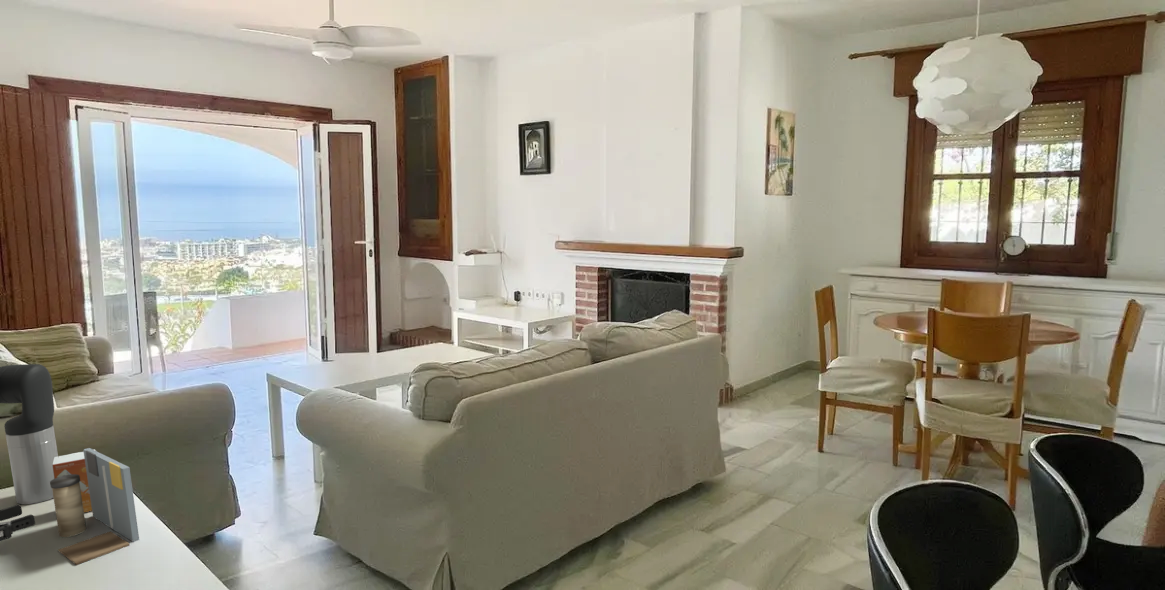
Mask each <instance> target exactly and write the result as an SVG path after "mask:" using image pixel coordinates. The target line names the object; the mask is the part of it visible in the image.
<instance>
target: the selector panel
mask: <svg viewBox="0 0 1165 590" xmlns="http://www.w3.org/2000/svg"><path fill="white" fill-rule="evenodd" d="M82 452H84V458H85V465H86V472H87V479H88V486H89V492H90V499H91V506H92V511H91V513H92V517H93V518H94V517H95V518H94V519H96V518H97V519H96V520H98V521H99V520H100V521H99V522H101V523H102V522H103V524H104V525H105V524H106V526H107V527H109V528H110V529H112V530H113V531H114V532H116V533H118V534H120V535H121V536H123V537H124V538H127V539H128V540H129V541H131V542H133V543H134V542H136V541H140V536H139V528H138V520H137V514H136V506H135V499H134V498H135V497H134V490H133V484H132V476H131V469H130V466H128V465H126V464H124V463H121V462H119V461H117V460H116V459H113V458H111V457H109V456H107V455H105V454H103V453H101V452H98V451H97V450H96V449H95V450H94V449H93V448H90V447H88V448H84V449H83V451H82Z"/></svg>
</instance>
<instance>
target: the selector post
mask: <svg viewBox="0 0 1165 590" xmlns="http://www.w3.org/2000/svg"><path fill="white" fill-rule="evenodd" d="M79 482H80V476H79V475H77V474H71V475H65V476H61V477H58V478H55V479H53V480H51V481H50V486H51V488H52V491H53V498H52V499H53V501H54V502H53V503H54V510H55V517H56V522H57V530H58V535H59V537H61V538H69V537H70V538H71V537H74V536H77V535H79V534H82V533H84V532H85V531H86V530H87V525H86V518H85V513H84V510H83V503H82V496H81V490H80V483H79Z"/></svg>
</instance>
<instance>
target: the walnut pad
mask: <svg viewBox="0 0 1165 590" xmlns="http://www.w3.org/2000/svg"><path fill="white" fill-rule="evenodd" d="M128 546H130V543H129V542H128V541H126V540H125V539H123V538H122V537H120V536H119V535H117V534H116V533H114V531H113V532H112V531H110V530H108V531H107V532H105V533H100V534H99V535H95V536H93V537H89V538H87V539H84V540H81V541H78V542H75V543H73V544H71V545H67V546H65V547H62V548H58V549H57V550H58V553H60V554H61V555H63V557H64V558H67V559H68V560H69V562H72V563H73V564H74V565H75V566H78V565H80V564H83V563H86V562H89V561H91V559H92V560H94V559H96V558H99V557H102V556H105V555H108V554H110V553H112V552H115V551H117V550H121V549H124V548H126V547H128ZM123 547H124V548H123ZM88 560H89V561H88Z"/></svg>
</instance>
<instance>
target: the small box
mask: <svg viewBox="0 0 1165 590" xmlns="http://www.w3.org/2000/svg"><path fill="white" fill-rule="evenodd" d="M93 450H95V451H96V449H93ZM53 474H54V479H55V478H58V477H61V476H65V475H71V474H77V475H79V476H80V482H79V483H80V490H81V496H82V503H83V510H84V514H85V513H89V511H90V512H92V506H91V499H90V492H89V486H88V479H87V472H86V465H85V458H84V451H78V452H74V453H69V454H64V455H58V457H54V460H53Z"/></svg>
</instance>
